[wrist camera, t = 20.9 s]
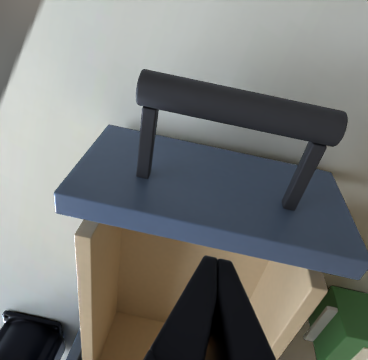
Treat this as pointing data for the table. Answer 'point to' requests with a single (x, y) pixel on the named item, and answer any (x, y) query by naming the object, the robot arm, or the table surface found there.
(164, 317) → the drawer
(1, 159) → the table surface
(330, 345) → the green juice carton
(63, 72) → the table surface
